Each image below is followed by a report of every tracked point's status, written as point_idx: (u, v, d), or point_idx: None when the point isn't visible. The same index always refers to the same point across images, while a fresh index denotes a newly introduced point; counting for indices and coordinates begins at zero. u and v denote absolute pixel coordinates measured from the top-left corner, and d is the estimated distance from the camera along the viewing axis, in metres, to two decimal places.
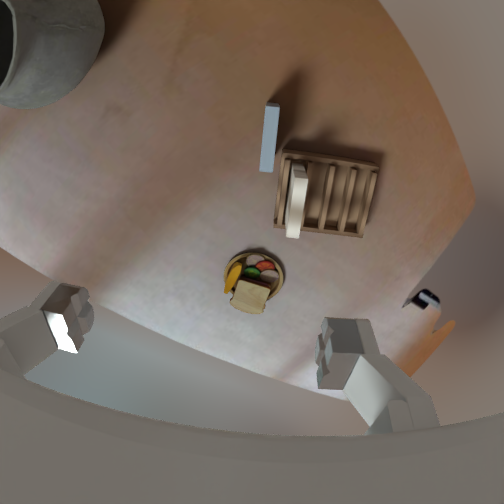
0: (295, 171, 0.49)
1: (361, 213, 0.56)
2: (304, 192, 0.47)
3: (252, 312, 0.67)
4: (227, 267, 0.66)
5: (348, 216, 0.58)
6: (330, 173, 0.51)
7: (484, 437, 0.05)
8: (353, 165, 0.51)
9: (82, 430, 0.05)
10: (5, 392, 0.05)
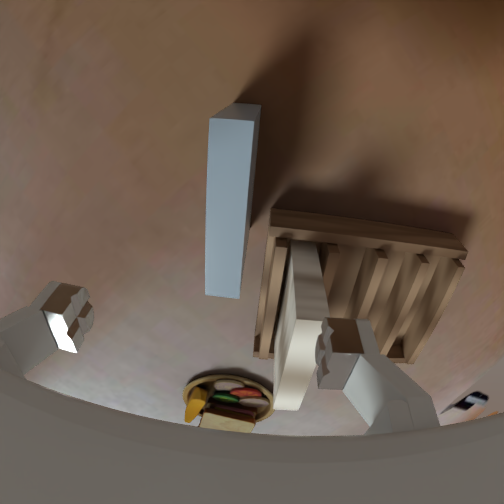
0: (299, 283, 0.20)
1: (418, 329, 0.27)
2: None
3: None
4: (186, 390, 0.38)
5: None
6: (375, 272, 0.23)
7: (484, 437, 0.05)
8: (422, 250, 0.22)
9: (82, 430, 0.05)
10: (5, 392, 0.05)
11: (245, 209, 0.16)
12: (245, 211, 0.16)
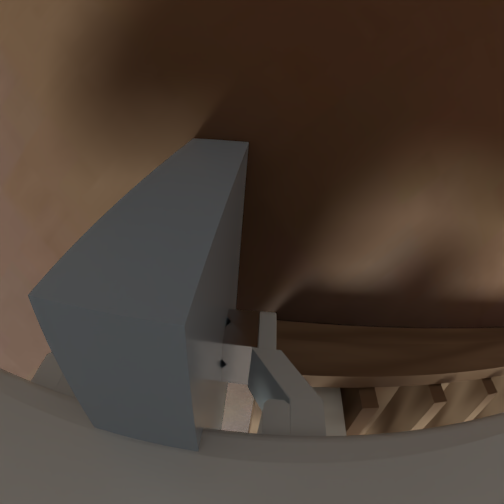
0: None
1: None
2: None
3: None
4: None
5: None
6: (425, 416, 0.12)
7: (484, 437, 0.05)
8: (491, 373, 0.12)
9: (82, 430, 0.05)
10: (5, 392, 0.05)
11: None
12: None
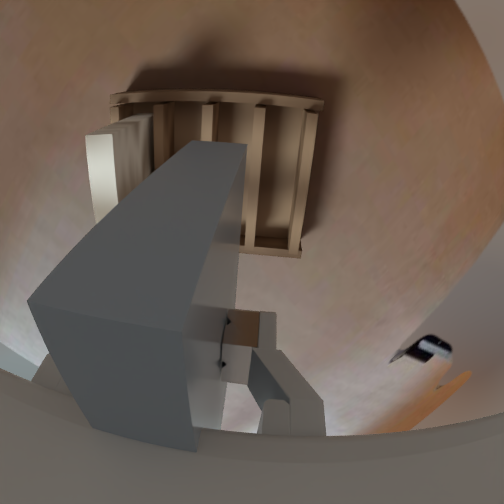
0: (113, 124, 0.20)
1: (293, 207, 0.27)
2: (111, 167, 0.18)
3: None
4: None
5: (270, 214, 0.29)
6: (204, 121, 0.22)
7: (484, 437, 0.05)
8: (260, 100, 0.22)
9: (82, 430, 0.05)
10: (5, 392, 0.05)
11: None
12: None
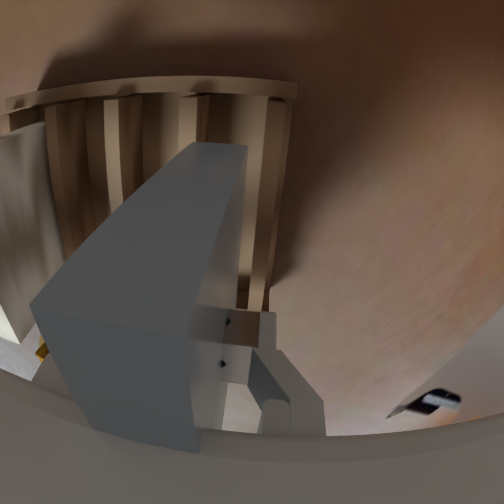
0: None
1: None
2: None
3: None
4: None
5: None
6: (107, 126, 0.13)
7: (484, 437, 0.05)
8: (193, 85, 0.13)
9: (82, 430, 0.05)
10: (6, 392, 0.05)
11: None
12: None
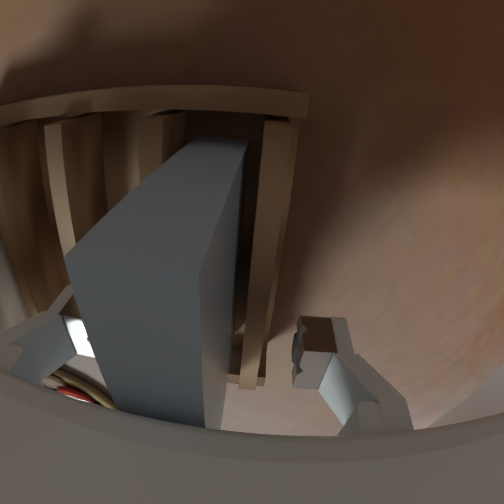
0: None
1: None
2: None
3: None
4: None
5: None
6: (51, 159, 0.09)
7: (484, 437, 0.05)
8: (160, 100, 0.09)
9: (82, 430, 0.05)
10: (6, 392, 0.05)
11: None
12: None
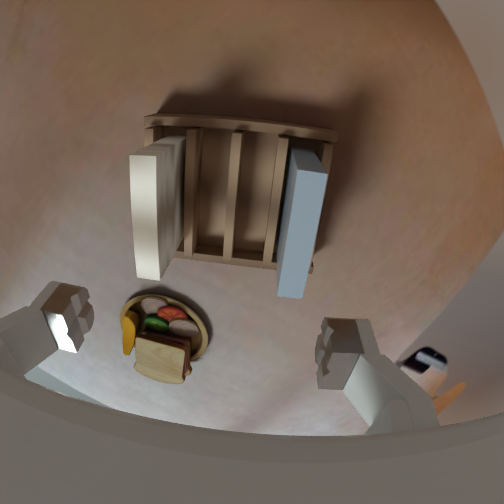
0: (151, 145, 0.23)
1: None
2: (152, 186, 0.21)
3: (169, 382, 0.40)
4: (121, 317, 0.40)
5: None
6: (233, 148, 0.25)
7: (484, 437, 0.05)
8: (283, 131, 0.25)
9: (82, 430, 0.05)
10: (5, 392, 0.05)
11: (315, 234, 0.22)
12: (315, 235, 0.22)
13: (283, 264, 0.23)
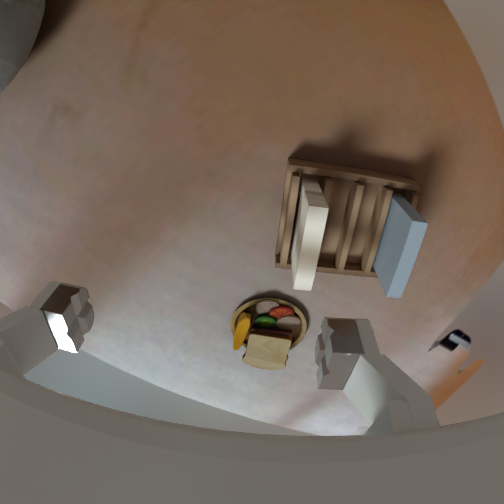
0: (308, 194, 0.33)
1: None
2: (322, 227, 0.31)
3: (272, 368, 0.51)
4: (233, 318, 0.50)
5: None
6: (356, 195, 0.35)
7: (484, 437, 0.05)
8: (388, 183, 0.35)
9: (82, 430, 0.05)
10: (5, 392, 0.05)
11: (415, 258, 0.32)
12: (415, 258, 0.32)
13: (394, 276, 0.34)
